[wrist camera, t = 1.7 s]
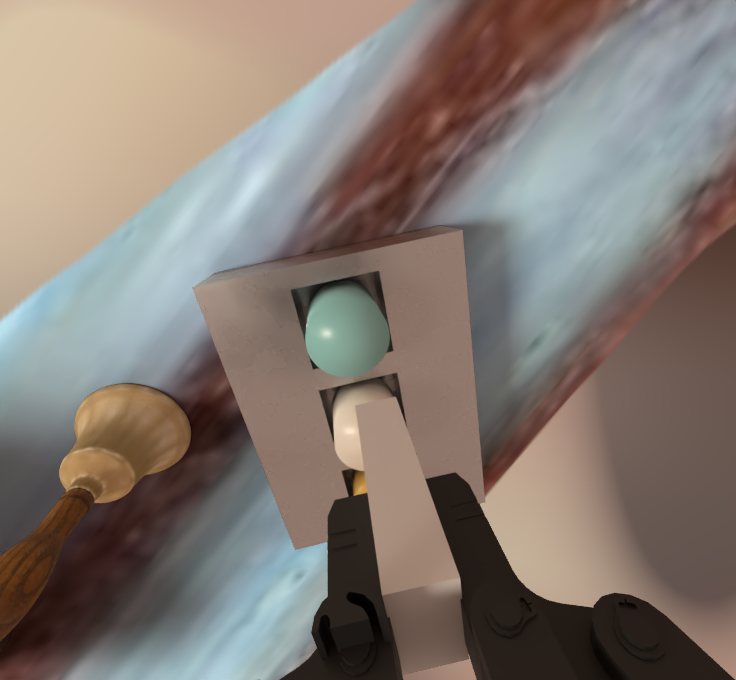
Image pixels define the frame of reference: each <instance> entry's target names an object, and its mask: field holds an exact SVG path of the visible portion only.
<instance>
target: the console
mask: <svg viewBox="0 0 736 680" xmlns="http://www.w3.org/2000/svg"><path fill="white" fill-rule="evenodd" d="M335 281H351V282H355V283H357V284H359V285H361V286H363V287H364V288H366V289H367V290H368V291H369V292H370V294H371V295H372V296H373V298H374V300H375V302H376V303H377V305H378V307H379V309H380V311H381V313H382V314H383V316H384V318H385V320H386V322H387V324H388V328H389V334H390V341H389V346H388V349H387V352H386V354H385V356H384V357H383V359H382V360H381V361H380V363H379V364H378V365H377V366H376V367H374V368H373V369H372V370H370V371H368V372H367V373H364V374H362V375H359V376H354V377H338V376H334V375H331V374H329V373H326V372H325V371H323V370H321V369H320V368H319V367H318V366H317V365H316V364H315V363H314V362H313V361H312V359H311V358H310V356H309V354H308V351H307V348H306V342H305V336H306V326H307V317H308V309H309V305H310V302H311V300H312V298H313V296H314V295H315V294H316V292H317V291H318V290H319V289H321V288H322V287H323V286H325V285H327V284H329V283H332V282H335ZM193 290H194V293H195V295H196V298H197V301H198V303H199V306H200V308H201V311H202V313H203V316H204V318H205V321H206V324H207V326H208V329H209V331H210V334H211V336H212V339H213V341H214V344H215V347H216V349H217V352H218V354H219V357H220V359H221V362H222V364H223V367H224V369H225V372H226V375H227V377H228V380H229V382H230V385H231V387H232V390H233V392H234V395H235V398H236V400H237V403H238V405H239V408H240V410H241V413H242V415H243V418H244V421H245V423H246V426H247V428H248V431H249V433H250V436H251V438H252V441H253V443H254V446H255V449H256V451H257V454H258V456H259V459H260V461H261V464H262V466H263V469H264V472H265V474H266V477H267V479H268V482H269V484H270V487H271V489H272V492H273V495H274V497H275V500H276V502H277V505H278V507H279V510H280V512H281V515H282V518H283V520H284V523H285V525H286V528H287V530H288V533H289V535H290V538H291V540H292V543H293V546H294V548H295V550H296V549H300V548H304V547H308V546H312V545H316V544H320V543H324V542H328V514H329V512H330V510H331V507H332V505H333V503H334V500H336V499H341V498H346V497H350V496H354V494H353V485H352V472H353V470H354V469H353V468H350V467H349V466H347V465H345V464H344V463H343V462H342V461H341V460H340V459H339V457H338V455H337V453H336V451H335V445H334V428H333V411H332V401H333V397H334V394H335V392H336V391H337V389H338V388H339V387H340V386H341V385H345V384H350V383H354V382H358V381H363V380H367V379H371V378H375V377H377V378H379V379H381V380H383V381H384V382H385V383H387V384H388V386H389V387H390V388H391V390H392V392H393V395H394V397H396V398H397V401H398V404H399V407H400V410H401V413H402V415H403V418H404V421H405V424H406V427H407V429H408V432H409V435H410V438H411V441H412V444H413V446H414V449H415V452H416V455H417V458H418V460H419V463H420V466H421V469H422V472H423V475H424V477H425V479H427V478H431V477H436V476H440V475H445V474H449V473H454V472H456V473H457V474H458V475H459V476H460V477H462V478H463V479H464V480H465V481H466V482H467V483H468V484H469V485H470V487H471V489H472V491H473V493H474V495H475V497H476V499H477V501H478V503H483V502H485V495H484V483H483V471H482V459H481V447H480V435H479V422H478V410H477V398H476V386H475V374H474V362H473V350H472V338H471V326H470V314H469V301H468V289H467V277H466V265H465V253H464V241H463V230H460V229H455V228H450V227H445V226H440V225H438V226H433V227H429V228H424V229H419V230H414V231H410V232H405V233H400V234H396V235H391V236H386V237H382V238H377V239H372V240H368V241H363V242H358V243H353V244H349V245H344V246H339V247H335V248H330V249H325V250H321V251H316V252H311V253H306V254H302V255H297V256H292V257H288V258H283V259H278V260H274V261H269V262H264V263H260V264H255V265H250V266H245V267H241V268H236V269H231V270H227V271H222V272H217V273H214V274H212V275H211V276H209V277H208V278H206V279H205V280H203V281H202V282H200V283H199V284H198V285H196V286H195V287H193Z"/></svg>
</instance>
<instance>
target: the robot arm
mask: <svg viewBox="0 0 736 680" xmlns="http://www.w3.org/2000/svg"><path fill="white" fill-rule="evenodd" d="M355 408H356V415H357V422H358V429H359V436H360V443H361V451H362V458H363V465H364V472H365V479H366V486H367V493H364V494H359V495H355V496H350V497H346V498H341V499H336V500H334V503H333V505H332V507H331V510H330V512H329V514H328V597H327V598H326V599H325V600H324V601H323V602H322V603H321V605H320V607H319V609H318V611H317V613H316V614H315V616H314V621H313V626H312V632H311V633H312V636H313V638H314V641H315V643H316V646H317V649H316V650H315V652H314V653H313V654H312V655H311V656H310V658H309V659H308V660H306V661H305V662H304V663H303V664H302V665H301V666H299V667H298V668H296V669H295V670H293V671H292V672H290V673H289V674H287V675H286V676H285V677H283V678H282V679H280V680H403V677H402V675H405V674H409V673H413V672H417V671H421V670H426V669H430V668H434V667H438V666H442V665H446V664H450V663H454V662H458V661H463V660H467V659H469V656H470V659H471V662H472V666H473V669H474V672H475V675H476V678H477V680H735V679H733V678H732V677H731V676H730V675H729V674H728V673H727V672H726V671H725V670H724V669H723V668H722V667H720V665H718V664H717V663H716V662H715V661H714V660H713V659H712V658H711V657H710V656H708V654H707V653H705V652H704V651H703V650H702V649H701V648H700V647H699V646H698V645H697V644H696V643H695V642H694V641H692V640H691V639H690V638H689V637H688V636H687V635H686V634H685V633H684V632H683V631H682V630H681V629H679V628H678V627H677V626H676V625H675V624H674V623H673V622H672V621H671V620H670V619H669V618H668V617H667V616H665V615H664V614H663V613H661V612H660V611H659V610H657V609H656V608H655V607H653V606H652V605H651V604H649V603H648V602H646V601H643V600H641V599H639V598H636V597H634V596H631V595H627V594H619V593H613V594H609V595H605V596H602V597H601V598H600V599H599V600H598V601H597V602H596V604H595V605H594V608H591V607H584V606H576V605H569V604H561V603H557V602H553V601H549V600H546V599H544V598H542V597H540V596H538V595H536V594H535V593H533V592H532V591H530V590H529V589H528V588H526V587H525V585H524V584H523V583H521V581H520V580H519V579H518V578H517V576H516V575H515V573H514V572H513V570H512V568H511V566H510V564H509V562H508V560H507V558H506V556H505V554H504V552H503V550H502V548H501V546H500V544H499V542H498V540H497V538H496V536H495V535H494V532H493V530H492V528H491V526H490V524H489V522H488V520H487V519H486V517H485V515H484V513H483V510H482V508H481V506H480V504H479V503H478V501H477V499H476V497H475V495H474V493H473V491H472V489H471V487H470V485H469V484H468V483H467V482H466V481H465V480H464V479H463V478H462V477H460V476H459V475H458V474H457V473H456V472H454V473H449V474H445V475H440V476H436V477H431V478H427V479H425V477H424V475H423V472H422V469H421V466H420V463H419V460H418V458H417V455H416V452H415V449H414V446H413V444H412V441H411V438H410V435H409V432H408V429H407V427H406V424H405V421H404V418H403V415H402V413H401V410H400V407H399V404H398V401H397V398H396V397H392V398H387V399H383V400H378V401H373V402H368V403H364V404H359V405H355ZM10 633H11V631H10V632H9V634H7V635H6V636H5V637H4V638H3V639H2V640H1V641H0V653H1V651H2V650H3V649H4V647H5V646H6V644H7V642H8V640H9V638H10ZM468 653H469V656H468Z"/></svg>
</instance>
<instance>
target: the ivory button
mask: <svg viewBox="0 0 736 680" xmlns="http://www.w3.org/2000/svg"><path fill="white" fill-rule="evenodd" d="M392 397H394V395H393V392H392V390H391V388H390V387H389V386H388V384H387V383H385V382H384V381H383V380H381V379H379V378H377V377H375V378H371V379H367V380H363V381H358V382H354V383H350V384H345V385H341V386H340V387H339V388H338V389H337V391H336V392H335V394H334V397H333V401H332V411H333V428H334V445H335V451H336V453H337V455H338V457H339V459H340V460H341V461H342V462H343V463H344V464H345V465H347V466H349V467H350V468H353V469H355V470H359V471H364V465H363V458H362V451H361V443H360V436H359V429H358V422H357V415H356V408H355V405H359V404H364V403H368V402H373V401H378V400H383V399H387V398H392Z"/></svg>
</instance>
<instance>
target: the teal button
mask: <svg viewBox="0 0 736 680" xmlns="http://www.w3.org/2000/svg"><path fill="white" fill-rule="evenodd" d="M389 341H390V334H389V328H388V324H387V322H386V320H385V318H384V316H383V314H382V313H381V311H380V309H379V307H378V305H377V303H376V302H375V300H374V298H373V296H372V295H371V294H370V292H369V291H368V290H367V289H366V288H364V287H363V286H361V285H359V284H357V283H355V282H351V281H335V282H332V283H329V284H327V285H325V286H323V287H322V288H321V289H319V290H318V291H317V292H316V294H315V295H314V296H313V298H312V300H311V302H310V305H309V309H308V317H307V326H306V336H305V342H306V348H307V351H308V354H309V356H310V358H311V359H312V361H313V362H314V363H315V364H316V365H317V366H318V367H319V368H320V369H321V370H323V371H325V372H326V373H329V374H331V375H334V376H338V377H354V376H359V375H362V374H364V373H367V372H368V371H370V370H372V369H373V368H374V367H376V366H377V365H378V364H379V363H380V361H381V360H382V359H383V357H384V356H385V354H386V352H387V349H388V346H389Z"/></svg>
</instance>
